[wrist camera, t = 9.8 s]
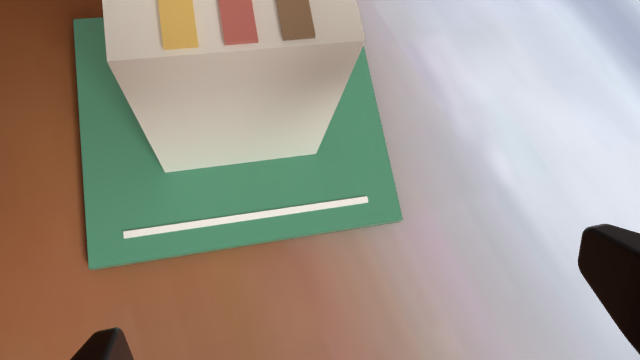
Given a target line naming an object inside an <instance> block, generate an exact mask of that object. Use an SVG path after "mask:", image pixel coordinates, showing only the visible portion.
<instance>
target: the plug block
mask: <svg viewBox="0 0 640 360" xmlns="http://www.w3.org/2000/svg"><path fill="white" fill-rule="evenodd" d="M102 5H103V17H104V30H105V43H106V55H107V63H108V64H109V66H110V68H111V70H112V72H113V74H114V76H115V78H116V80H117V82H118V84H119V85H120V87H121V89H122V91H123V93H124V95H125V97H126V99H127V101H128V103H129V105H130V107H131V108H132V110H133V112H134V114H135V116H136V118H137V120H138V122H139V124H140V126H141V128H142V129H143V131H144V133H145V135H146V137H147V139H148V141H149V143H150V145H151V147H152V149H153V150H154V152H155V154H156V156H157V158H158V160H159V162H160V164H161V166H162V168H163V170H164V172H165V173H166V172H174V171H182V170H190V169H198V168H206V167H215V166H223V165H231V164H239V163H247V162H255V161H263V160H271V159H279V158H287V157H295V156H303V155H311V154H316V153H317V151H318V148H319V146H320V144H321V141H322V139H323V137H324V135H325V132H326V130H327V128H328V125H329V123H330V121H331V118H332V116H333V114H334V112H335V109H336V107H337V105H338V102H339V100H340V98H341V96H342V93H343V91H344V89H345V86H346V84H347V82H348V79H349V77H350V75H351V73H352V70H353V68H354V66H355V63H356V61H357V59H358V57H359V54H360V52H361V50H362V47H363V45H364V43H365V36H364V32H363V27H362V23H361V19H360V14H359V10H358V5H357V1H356V0H102Z"/></svg>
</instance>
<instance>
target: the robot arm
mask: <svg viewBox="0 0 640 360" xmlns="http://www.w3.org/2000/svg"><path fill="white" fill-rule="evenodd" d="M578 266H579V269H580V272H581V273H582V275H583V277H584V278H585V279H586V281H587V282H588V284H589V285H590V287H591V288H592V290H593V291H594V293H595V294H596V295H597V297H598V298H599V300H600V301H601V303H602V304H603V306H604V307H605V309H606V310H607V312H608V313H609V314H610V316H611V317H612V319H613V320H614V322H615V323H616V325H617V326H618V327H619V329H620V330H621V332H622V333H623V334H624V336H625V337H626V338H627V340H628V341H629V342H630V343H631V345H632V346H633V347H634V348H635V349H636V351H637V352H638V353H639V354H640V234H639V233H636V232H633V231H629V230H626V229H623V228H619V227H616V226H613V225H609V224H600V225H595V226H591V227H588V228H586V229H585V230H584V231H583V234H582V239H581V245H580V251H579V257H578ZM70 360H134V359H133V356H132V354H131V351H130V349H129V346H128V343H127V341H126V338H125V336H124V333H123V331H122V330H121V329H120V328H117V327H115V328H111V329H106V330H101V331H98V332H95V333H94V334H93V335H92V336H91V337H90V338H89V339H88V340H87V341H86V343H85V344H84V345H83V346H82V347H81V348H80V349H79V350H78V351H77V353H76V354H75V355H74V356H73V357H72V358H71V359H70Z"/></svg>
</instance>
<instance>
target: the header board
mask: <svg viewBox="0 0 640 360" xmlns="http://www.w3.org/2000/svg"><path fill="white" fill-rule="evenodd" d="M73 25H74V41H75V57H76V73H77V89H78V105H79V121H80V137H81V153H82V169H83V185H84V201H85V217H86V233H87V249H88V265H89V269H91V270H98V269H104V268H110V267H117V266H123V265H129V264H136V263H142V262H148V261H155V260H161V259H167V258H174V257H180V256H186V255H193V254H199V253H205V252H212V251H218V250H224V249H231V248H237V247H243V246H250V245H256V244H262V243H269V242H275V241H281V240H288V239H294V238H300V237H307V236H313V235H319V234H326V233H332V232H338V231H345V230H351V229H357V228H364V227H370V226H376V225H383V224H389V223H395V222H400V221H401V220H403V219H402V214H401V210H400V205H399V201H398V196H397V192H396V187H395V183H394V179H393V174H392V170H391V165H390V161H389V156H388V152H387V148H386V143H385V139H384V134H383V130H382V125H381V121H380V117H379V112H378V108H377V103H376V99H375V94H374V90H373V86H372V81H371V77H370V72H369V68H368V63H367V59H366V54H365V50H364V46H363V47H362V50H361V52H360V54H359V57H358V59H357V61H356V63H355V66H354V68H353V70H352V73H351V75H350V77H349V79H348V82H347V84H346V86H345V89H344V91H343V93H342V96H341V98H340V100H339V102H338V105H337V107H336V109H335V112H334V114H333V116H332V118H331V121H330V123H329V125H328V128H327V130H326V132H325V135H324V137H323V139H322V141H321V144H320V146H319V148H318V151H317V153H316V154H311V155H303V156H295V157H287V158H279V159H271V160H263V161H255V162H247V163H239V164H231V165H223V166H215V167H206V168H198V169H190V170H182V171H174V172H166V173H165V172H164V170H163V168H162V166H161V164H160V162H159V160H158V158H157V156H156V154H155V152H154V150H153V149H152V147H151V145H150V143H149V141H148V139H147V137H146V135H145V133H144V131H143V129H142V128H141V126H140V124H139V122H138V120H137V118H136V116H135V114H134V112H133V110H132V108H131V107H130V105H129V103H128V101H127V99H126V97H125V95H124V93H123V91H122V89H121V87H120V85H119V84H118V82H117V80H116V78H115V76H114V74H113V72H112V70H111V68H110V66H109V64H108V63H107V55H106V43H105V30H104V17H100V18H85V19H73Z"/></svg>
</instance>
